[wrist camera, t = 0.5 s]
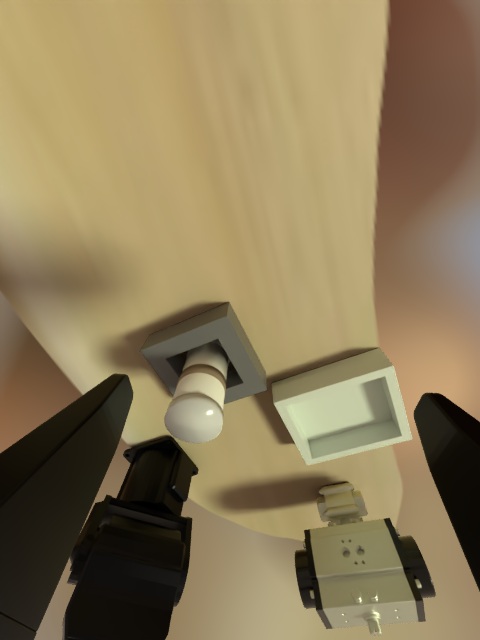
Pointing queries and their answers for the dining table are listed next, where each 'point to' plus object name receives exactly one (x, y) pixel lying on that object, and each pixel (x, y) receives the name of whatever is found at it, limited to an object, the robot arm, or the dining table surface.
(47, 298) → the dining table surface
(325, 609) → the pneumatic valve
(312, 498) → the dining table surface
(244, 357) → the grey square frame
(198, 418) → the white light bulb
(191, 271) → the dining table surface
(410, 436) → the parts tray
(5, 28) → the dining table surface
